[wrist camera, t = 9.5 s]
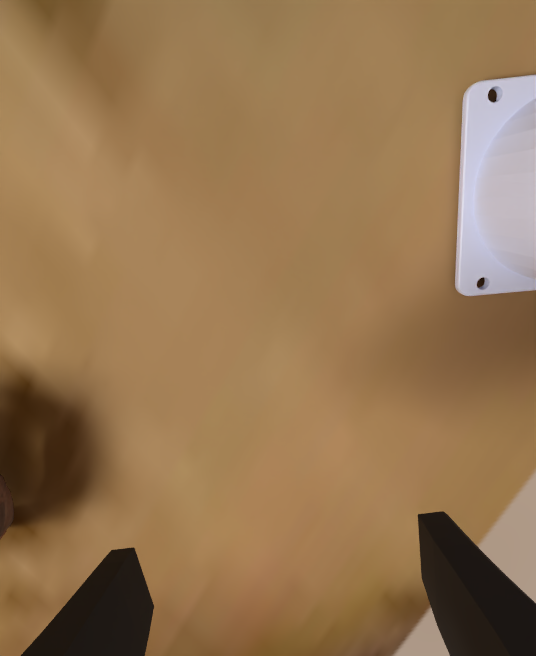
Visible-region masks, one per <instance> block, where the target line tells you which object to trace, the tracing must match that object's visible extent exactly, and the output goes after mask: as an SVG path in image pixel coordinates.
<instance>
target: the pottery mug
mask: <svg viewBox="0 0 536 656" xmlns="http://www.w3.org/2000/svg"><path fill="white" fill-rule="evenodd" d="M13 519H14V507H13V500H12V496H11V493H10V490H9V488H8V487H7V485H6V483H5V481H4V478H3V477H2V475H0V539H1V538H2V537H3V535H4V534H5V532H6V530H7V528H8V527H9V526H10V525H11V523H12V522H13Z"/></svg>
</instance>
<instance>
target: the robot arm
mask: <svg viewBox="0 0 536 656" xmlns="http://www.w3.org/2000/svg"><path fill="white" fill-rule="evenodd" d="M490 89H493V90H495V91H496V93H497V98H496V101H495V102H494V103H493V102H491V101H490V100H489V99H488V93H489V90H490ZM483 277H484V279H485V282H484V285H483V286H482V287H479V288H477V281H478V280H479V279H480V278H483ZM455 287H456V289H457V291H458V292H459V293H461V294H463V295H465V296H476V295H487V294H498V293H509V292H521V291H532V290H536V75H528V76H520V77H511V78H502V79H493V80H485V81H480V82H477V83H475V84H473V85H471V86H470V87H469V88H468V89H467V90H466V92H465V94H464V98H463V112H462V135H461V158H460V182H459V205H458V228H457V251H456V275H455ZM418 525H419V541H420V557H421V573H422V580H423V583H424V586H425V589H426V592H427V596H428V599H429V602H430V605H431V608H432V611H433V614H434V617H435V620H436V623H437V626H438V628H439V630H440V633H441V635H442V638H443V640H444V642H445V645H446V647H447V649H448V652H449V654H450V656H536V603H535V602H534V601H533V600H532V599H530V598H529V597H528V596H527V595H526V594H525V593H524V592H523V591H522V590H521V589H520V588H519V587H518V586H517V585H516V584H515V583H514V582H512V581H511V580H510V579H509V578H508V577H507V576H506V575H505V574H504V573H503V572H502V571H501V570H500V569H499V568H498V567H497V566H496V565H495V564H494V563H493V562H492V561H491V560H490V559H489V558H488V557H487V556H486V555H485V554H484V553H483V552H482V551H481V550H480V549H479V548H478V547H477V546H476V545H475V544H474V543H473V542H472V541H471V539H470V538H469V537H468V536H467V535H466V534H465V533H464V532H463V531H462V530H461V529H460V528H459V527H458V526H457V524H456V523H455V522H454V521H453V520H452V519H451V518H450V517H449V516H448V515H447V514H446V513H445V512H434V513H425V514H418ZM153 609H154V605H153V602H152V599H151V596H150V593H149V590H148V587H147V584H146V581H145V578H144V575H143V572H142V569H141V566H140V563H139V560H138V557H137V554H136V551H135V548H126V549H117V550H111V551H110V553H109V554H108V555H107V556H106V557H105V558H104V559H103V561H102V562H101V563H100V564H99V565H98V567H97V568H96V569H95V570H94V571H93V572H92V574H91V575H90V576H89V577H88V578H87V580H86V581H85V582H84V583H83V584H82V586H81V587H80V588H79V589H78V590H77V592H76V593H75V594H74V595H73V596H72V598H71V599H70V600H69V601H68V602H67V603H66V605H65V606H64V607H63V608H62V609H61V611H60V612H59V613H58V614H57V615H56V616H55V618H54V619H53V620H52V621H51V622H50V623H49V625H48V626H47V627H46V628H45V629H44V630H43V632H42V633H41V634H40V635H39V636H38V637H37V638H36V639H35V640H34V642H33V643H32V644H31V645H30V646H29V647H28V648H27V649H26V650H25V651H24V653H23V654H22V655H21V656H145V651H146V646H147V641H148V636H149V631H150V626H151V620H152V615H153Z"/></svg>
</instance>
